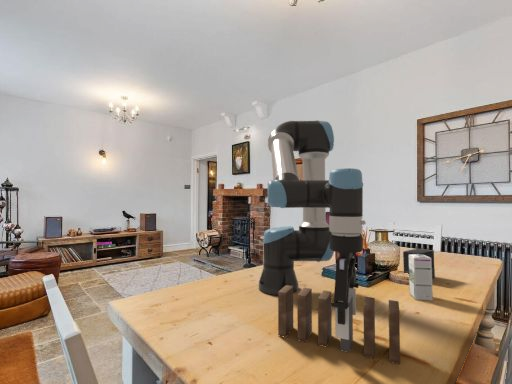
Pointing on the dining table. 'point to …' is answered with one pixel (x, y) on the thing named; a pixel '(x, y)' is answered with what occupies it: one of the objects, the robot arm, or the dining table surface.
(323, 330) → the domino
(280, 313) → the domino
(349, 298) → the domino
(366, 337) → the domino
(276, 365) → the dining table surface
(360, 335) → the dining table surface
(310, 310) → the domino
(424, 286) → the syrup box
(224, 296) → the dining table surface
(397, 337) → the domino
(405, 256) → the small box
